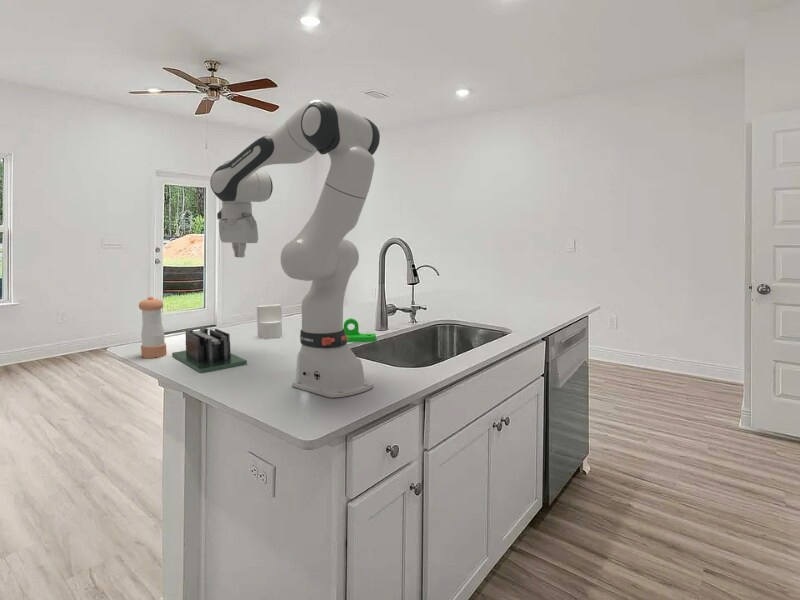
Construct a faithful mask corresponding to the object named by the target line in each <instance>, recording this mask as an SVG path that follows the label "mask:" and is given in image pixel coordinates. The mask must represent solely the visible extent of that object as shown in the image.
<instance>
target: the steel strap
mask: <svg viewBox="0 0 800 600" xmlns="http://www.w3.org/2000/svg"><path fill="white" fill-rule="evenodd" d="M193 332H194V333H197V334H199V335H201V336H203V337H205V342H206V338H211V339H212V346H217V345H222V344H223V342H222V340H218V339H216V338H214V337H212V336H210V334H209V333H208V334H206V333H204V332H202V331H200V330H196V331H193Z"/></svg>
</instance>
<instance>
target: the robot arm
mask: <svg viewBox="0 0 800 600" xmlns="http://www.w3.org/2000/svg"><path fill="white" fill-rule="evenodd" d="M380 138H381V135H380V131H379V128H378V127H377V125H376V124H375V123H374V122H373V121H372V120H370V118H367V117H364V116H361V115H359V114H358V113H355V112H354V111H352V110H351V109H349V108H346V107H342V106H338V105H335V104H333V103H330V102H328V101H327V102H326V101H325V100H323V99H318V98H317V99H316V98H314V99H311V100H309V101H308V102H306V103H305V104H303V105H302V106H301V107H300V108H298V109H297V110H296V111H295V112H294V113H293V114H292V115H291V116H290V117H289V118H287V119H286V121H285V122H284V123H282V125H279V127H277V128H276V129H274V130H272V131H271V132H270V133H267V134H266V135H263V136H262V137H259V138H258V139H256V140H255V141H253V142H252V143H251V144H250V145H248V146H247V147H246V148H244V149H243V150H242V151H241V152H240V153H238V154H237V155H236V156H235V157H233V158H232V159H229V160H227V161H225V162H223V163H222V165H219V166H218V167H217V168H216V169H215V170H214V171H213V173H212V174H211V177H210V183H209V184H210V189H211V190H212V192H213V193H214V195H215V196H216V197H217V198H218V199H219V200H220V201H221V202H222V203H221V205H222V206H221V207H222V208H221V209H220V210H219V211H218V212H217V213H216V217H217V218H216V219H217V220H218V231H219V238H220V241H221V243H229V244H231V247H232V250H233V252H234V253H233V255H234V257H235V258H239V259H240V258H245V257H246V254H245V252H246V248H247V244H258V241H259V233H258V231H259V230H258V224H257V221H256V219H255V217H254V216H253V209H252V206H253V203H252V202H254V203H262V202H266V201H268V200H269V199H270V198H271V196H272V193H273V190H274V186H273V185H274V184H273V180H272V178H271V176H270V174H269V173H268V172H267V171H263V170H261V168H264V167H266V166H271V165H283V164H286V165H287V164H288V165H289V164H290V165H291V164H300V163H303V162H305V161H307V160H308V159H310V158H312V157H313V156H314V155H315V154H316V153H317V152H318V153H319V154H320V155H321V156H322V155H327V154H328V156H329V157H330V158H329V159H330V167H329V170H328V172H327V177H326V178H325V181H324V184H323V187H322V190H321V193H320V195H319V198H318V202H317V204H316V207H315V208H314V211H313V213H312V214H311V216H310V217H309V220H308V221H307V222H306V224H304V226H303V228H302V229H301V231H299V233H298V234H297V235H296V236H295V237H294V238H293V239H292V240H290V241H289V242H287V243H286V244H285V245H284V247H282V250H281V252H280V266H281V268H282V270H283V272H284V274H286V276H287V277H289V278H291V279H293V280H297V281H306V282H310V281H312V282H311V286H310V288H309V291H308V292H307V293H306V295H305V296H304V297H303V298H302V300H301V301H302V302H301V329H300V334H299V340H300V344H301V347H300V350H299V352H298V353H297V357H296V367H295V369H296V370H295V371H296V372H295V379H294V380H293V381H292V382H291V383H292V384H291V386H292V387H293V388H296V389H299V390H303V391H306V392H309V393H313V394H316V395H320V396H323V397H327V398H331V399H332V398H334V399H335V398H342V397H348V396H353V395H356V394H357V395H358V394H361V393H363V392H366V391H369V390H371V389H372V388H373V387H374V384H373V382H371V381H370V380H368V379H367V378H365V375H364V366H363V363H362V360H361V359H360V358H358V357H357V356H356V354H355V353H354V352H353V351H352V349H350V347H349V346H348V342H347V340H348V339H349V338H346V337H348V336H349V335H346V334H345V330H344V300H345V295H346V291H347V288H348V283H349V280H350V278H351V275H352V273H353V272H354V270H355V269H356V268H357V267H358V265H359V264H358V263H359V261H360V255H359V250H358V249H357V246H356V245H355V244H354V243H353V242H352V241H350V240H349V239H348V240H347V239H344V238H345V237H346V235H347V234H349V233H350V232H351V231H352V230H353V229H354V228H355V227H356V226H357V224H358V221H359V219H360V216H361V213H362V211H363V208H364V205H365V202H366V200H367V197H368V194H369V191H370V188H371V184H372V179H373V176H374V175H373V174H374V170H375V158H374V157H373V155H374V154H375V153H376V151H377V150H378V147H379V145H380V141H381V140H380Z"/></svg>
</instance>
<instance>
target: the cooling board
mask: <svg viewBox="0 0 800 600" xmlns="http://www.w3.org/2000/svg"><path fill="white" fill-rule="evenodd" d="M199 331H202V332H204V333H206V334H208V335H210V336H212V337H214V338H216V339H218V340H222V342H223V344H222V345H217V346H212V339H211V338H206V342H205V337H203V336H201V335H199V334H197V333H194V332H195V331H194V330H193V329H190V328H185V350H180V351H175V352H171V353H172V354H171V355H172V357H173V358H174V357H175V358H174V359H176V360H178V361H179V360H180V361H179V362H181V363H183V364H184V363H185V364H184V365H186V366H188V367H189V366H190V367H189V368H191V367H192V368H191V369H193V370H195V371H196V370H197V371H196V372H198V373H200V374H202V372H204V373H208V371H209V372H214V370H215V371H219V370H225V369H229V367H230V368H234V367H235V366H236V367H240V365H241V366H246V365H248V360H246V359H244V358H242V357H240V356H238V355H236V354H233V353H232V352H231V341H230V340H231V339H230V338H231V337H230V333H229V332H225V331H223V330H220V329H218V328H215V329H214V330H213V329H208V328H207V327H204V326H200V327H199ZM245 364H246V365H245ZM236 367H235V368H236Z"/></svg>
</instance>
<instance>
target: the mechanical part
mask: <svg viewBox="0 0 800 600" xmlns="http://www.w3.org/2000/svg"><path fill="white" fill-rule="evenodd" d="M350 324H352V325H354V327H353V329H349V328H348V326H349V325H350ZM343 329H344V330H345V334H346V335H349V336H348V337H346V338H349V339H348V340H347V343H373V342H376V341H377V334H376V333H360V331H359V322H358V321H357V320H356V319H355V318H352V317H351V318H348V319H346V320H345V321H343ZM358 341H359V342H358Z"/></svg>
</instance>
